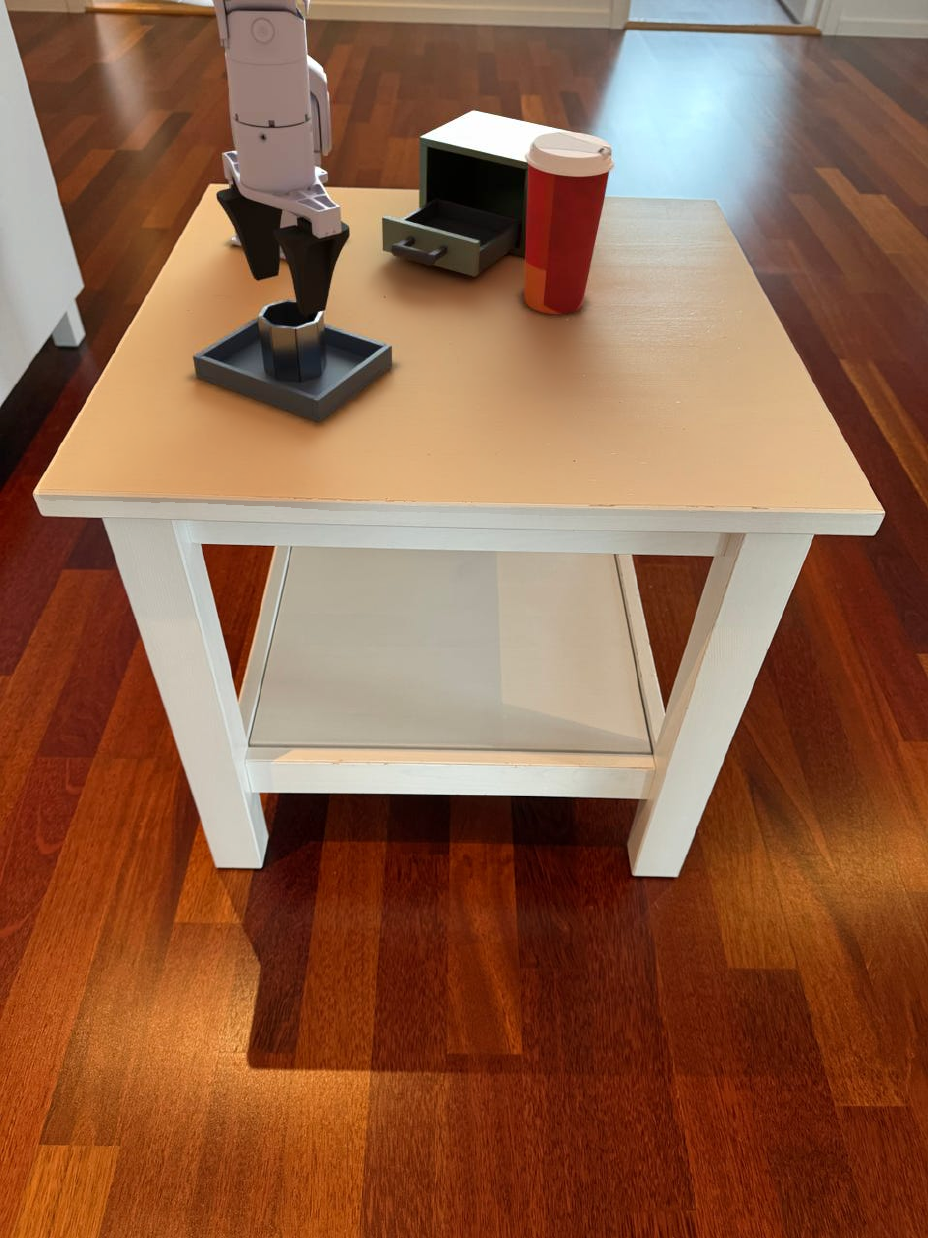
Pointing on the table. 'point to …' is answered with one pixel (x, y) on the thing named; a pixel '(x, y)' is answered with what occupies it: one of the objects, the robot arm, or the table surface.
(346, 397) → the tray
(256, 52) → the robot arm
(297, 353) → the faceted metal cup
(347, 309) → the table surface
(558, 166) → the coffee cup
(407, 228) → the drawer
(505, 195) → the cabinet
